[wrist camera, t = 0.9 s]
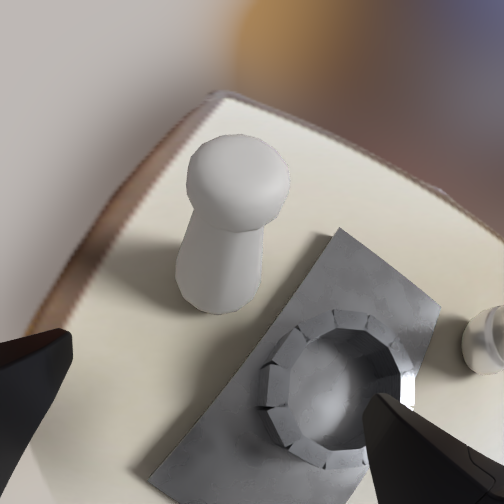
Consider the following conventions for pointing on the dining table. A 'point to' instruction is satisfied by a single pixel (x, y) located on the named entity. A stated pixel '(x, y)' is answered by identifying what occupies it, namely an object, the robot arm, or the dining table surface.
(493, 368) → the plastic bottle
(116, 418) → the dining table surface
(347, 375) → the plate with ring
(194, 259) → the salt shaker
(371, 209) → the dining table surface
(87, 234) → the dining table surface
